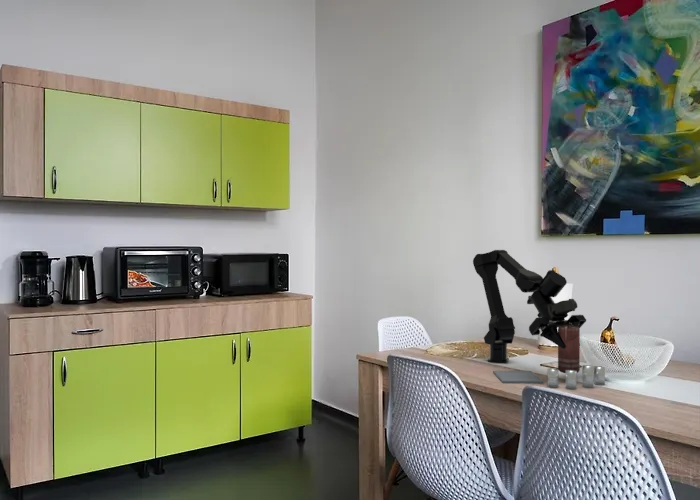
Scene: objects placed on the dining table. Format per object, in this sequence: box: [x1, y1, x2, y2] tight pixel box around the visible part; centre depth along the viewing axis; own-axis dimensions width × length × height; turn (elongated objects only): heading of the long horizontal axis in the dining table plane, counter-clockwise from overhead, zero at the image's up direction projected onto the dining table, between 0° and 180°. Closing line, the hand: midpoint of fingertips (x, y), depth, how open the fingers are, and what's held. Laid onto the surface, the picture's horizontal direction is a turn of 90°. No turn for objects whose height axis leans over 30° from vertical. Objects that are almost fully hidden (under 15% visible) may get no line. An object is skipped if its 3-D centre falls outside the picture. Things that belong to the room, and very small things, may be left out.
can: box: [557, 324, 581, 374], centre depth 174 cm, size 6×6×14 cm
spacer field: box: [547, 364, 606, 390], centre depth 170 cm, size 8×21×6 cm, turn 114°
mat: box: [492, 370, 544, 384], centre depth 179 cm, size 14×12×1 cm
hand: (571, 347), depth 173 cm, fingers closed on can, 5 cm apart
